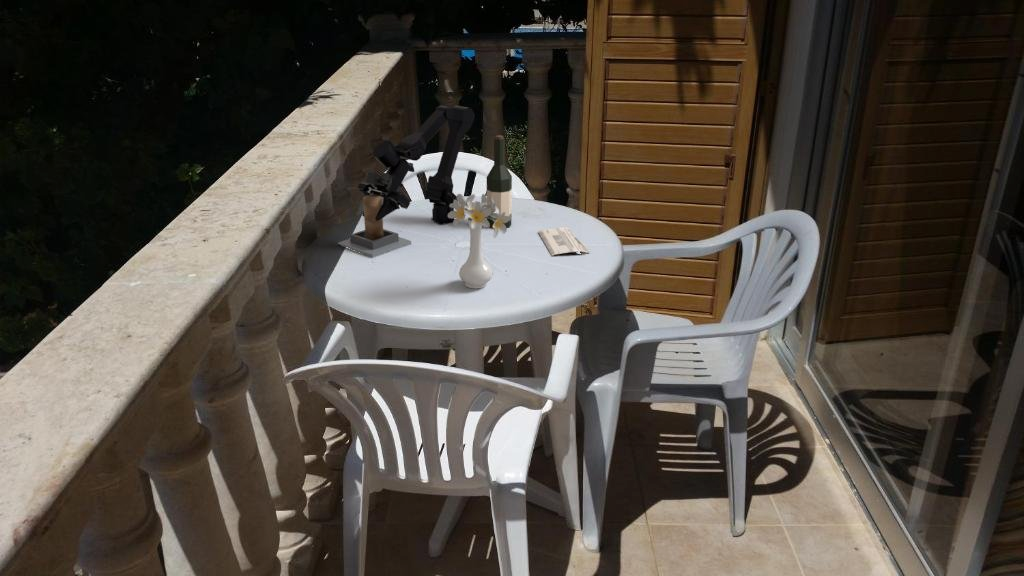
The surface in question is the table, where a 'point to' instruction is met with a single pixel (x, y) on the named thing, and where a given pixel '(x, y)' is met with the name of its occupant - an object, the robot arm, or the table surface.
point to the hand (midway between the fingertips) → (370, 218)
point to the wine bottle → (500, 182)
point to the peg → (372, 217)
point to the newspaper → (562, 241)
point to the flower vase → (477, 236)
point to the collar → (375, 243)
